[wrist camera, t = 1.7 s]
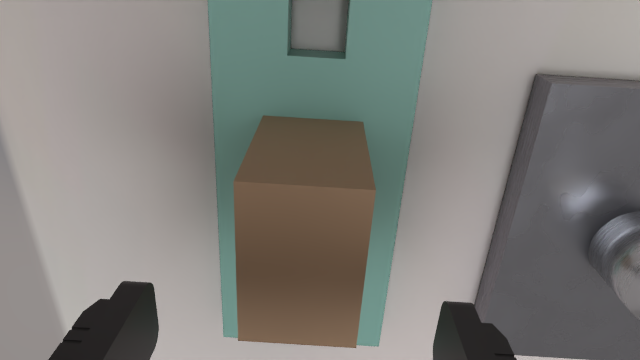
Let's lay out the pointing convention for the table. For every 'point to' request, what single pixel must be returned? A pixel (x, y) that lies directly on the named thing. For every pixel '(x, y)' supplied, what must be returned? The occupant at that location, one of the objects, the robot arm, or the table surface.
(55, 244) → the table surface
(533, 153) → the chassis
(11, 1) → the table surface
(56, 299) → the table surface
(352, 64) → the board
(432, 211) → the table surface
